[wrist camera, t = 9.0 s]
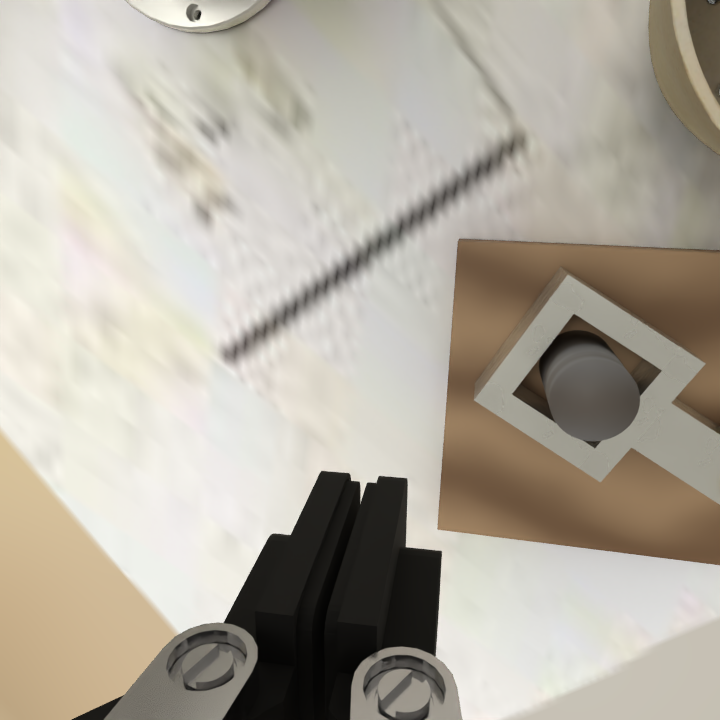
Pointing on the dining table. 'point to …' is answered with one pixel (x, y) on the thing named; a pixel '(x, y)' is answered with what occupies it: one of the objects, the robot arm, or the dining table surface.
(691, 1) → the plant pot
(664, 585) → the dining table surface
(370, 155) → the dining table surface
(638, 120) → the dining table surface
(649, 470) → the board
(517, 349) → the square frame with handle
